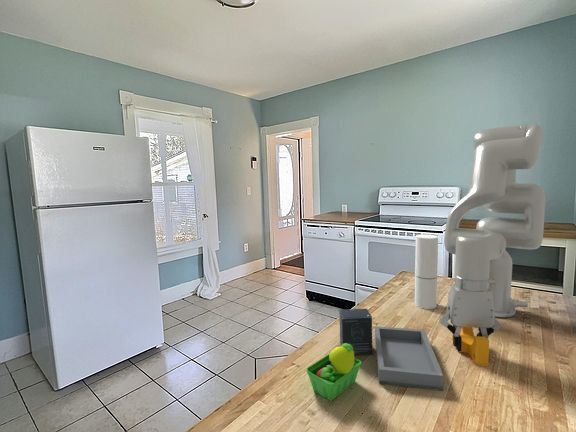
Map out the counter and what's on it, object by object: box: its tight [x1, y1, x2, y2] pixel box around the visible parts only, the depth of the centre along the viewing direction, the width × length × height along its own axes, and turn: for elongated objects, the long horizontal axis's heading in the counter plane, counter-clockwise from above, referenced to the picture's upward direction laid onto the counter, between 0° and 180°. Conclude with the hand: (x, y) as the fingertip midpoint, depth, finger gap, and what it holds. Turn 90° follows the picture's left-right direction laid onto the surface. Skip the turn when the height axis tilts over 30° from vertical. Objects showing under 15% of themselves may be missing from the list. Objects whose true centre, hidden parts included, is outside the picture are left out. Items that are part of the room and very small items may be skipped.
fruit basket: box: [305, 343, 362, 402], centre depth 69 cm, size 11×9×11 cm
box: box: [339, 308, 374, 356], centre depth 83 cm, size 8×6×11 cm
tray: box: [374, 325, 444, 392], centre depth 78 cm, size 13×20×4 cm, turn 167°
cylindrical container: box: [414, 233, 439, 310], centre depth 109 cm, size 7×7×25 cm
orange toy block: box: [451, 327, 490, 367], centre depth 81 cm, size 12×4×6 cm, turn 169°
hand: (468, 348), depth 81 cm, fingers closed on orange toy block, 4 cm apart
